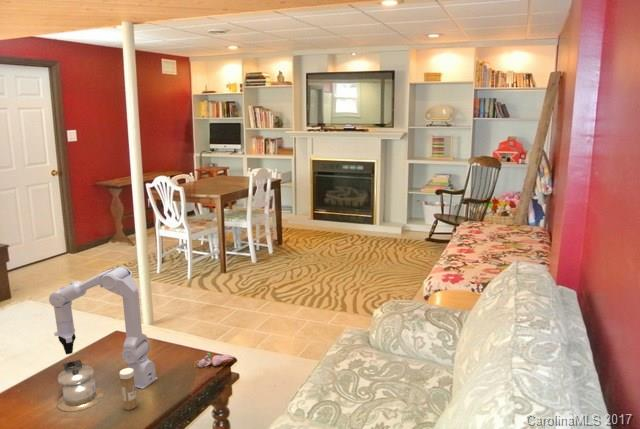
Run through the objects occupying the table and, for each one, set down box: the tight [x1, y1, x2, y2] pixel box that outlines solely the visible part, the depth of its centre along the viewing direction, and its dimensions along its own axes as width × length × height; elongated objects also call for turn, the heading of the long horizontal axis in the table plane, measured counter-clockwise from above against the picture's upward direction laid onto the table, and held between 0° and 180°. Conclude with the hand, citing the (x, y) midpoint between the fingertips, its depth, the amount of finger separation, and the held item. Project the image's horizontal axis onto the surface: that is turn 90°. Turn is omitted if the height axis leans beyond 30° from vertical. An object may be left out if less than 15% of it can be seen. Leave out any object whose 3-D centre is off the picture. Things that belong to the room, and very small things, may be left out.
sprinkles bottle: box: [119, 367, 138, 411], centre depth 172 cm, size 5×5×13 cm
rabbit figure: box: [193, 352, 233, 369], centre depth 199 cm, size 6×6×15 cm
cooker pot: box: [56, 377, 105, 413], centre depth 178 cm, size 15×15×6 cm
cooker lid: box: [57, 359, 94, 387], centre depth 183 cm, size 15×12×2 cm
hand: (69, 353), depth 193 cm, fingers closed
